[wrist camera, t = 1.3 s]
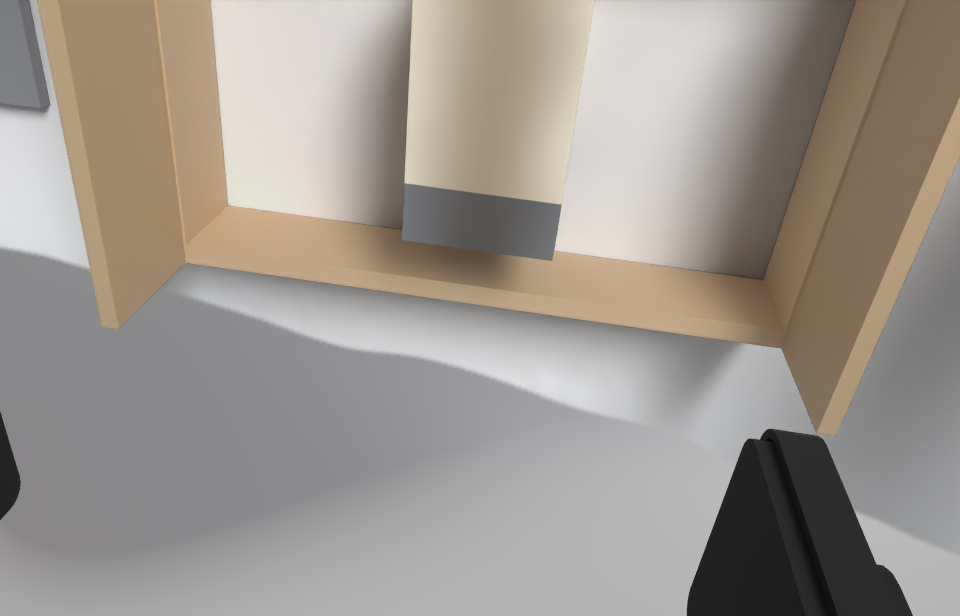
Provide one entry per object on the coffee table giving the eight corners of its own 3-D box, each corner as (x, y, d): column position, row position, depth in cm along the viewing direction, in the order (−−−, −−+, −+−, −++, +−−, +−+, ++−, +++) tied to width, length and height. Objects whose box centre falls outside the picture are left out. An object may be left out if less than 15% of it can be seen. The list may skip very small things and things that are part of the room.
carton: (936, -160, 23) (1111, -175, 15) (776, 299, 32) (838, 436, 24) (166, -241, 25) (-26, -292, 17) (212, 220, 33) (98, 326, 25)
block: (597, -62, 26) (601, -40, 20) (558, 183, 30) (552, 261, 24) (454, -78, 26) (415, -62, 20) (437, 167, 31) (401, 239, 25)
